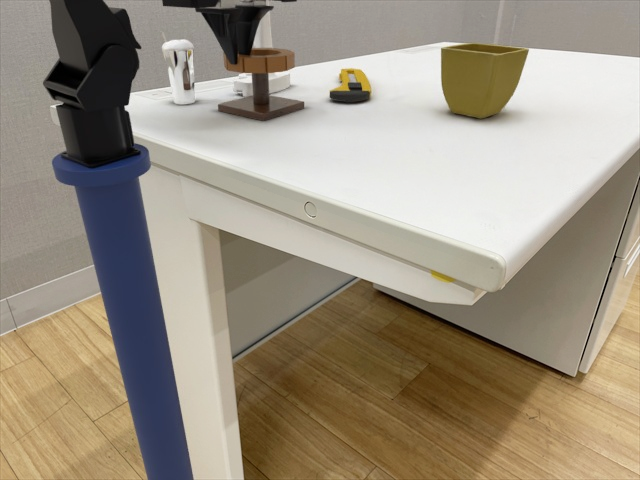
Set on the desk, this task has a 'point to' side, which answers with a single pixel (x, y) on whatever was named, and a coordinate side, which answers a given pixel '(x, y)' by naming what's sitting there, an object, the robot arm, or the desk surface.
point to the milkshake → (180, 69)
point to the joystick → (276, 79)
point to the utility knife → (352, 86)
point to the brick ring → (263, 61)
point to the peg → (261, 102)
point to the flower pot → (480, 77)
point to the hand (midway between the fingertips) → (239, 63)
